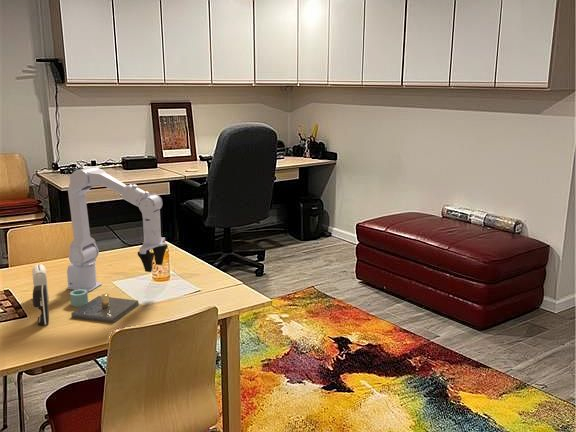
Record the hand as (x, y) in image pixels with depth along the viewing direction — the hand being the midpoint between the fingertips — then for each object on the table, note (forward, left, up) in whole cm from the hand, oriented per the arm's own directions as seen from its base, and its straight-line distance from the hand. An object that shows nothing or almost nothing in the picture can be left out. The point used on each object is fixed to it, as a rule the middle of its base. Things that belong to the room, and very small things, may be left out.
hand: (153, 268), depth 189 cm
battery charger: (-23, -30, -10) cm, 39 cm away
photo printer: (-35, -15, -10) cm, 39 cm away
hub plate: (-9, -17, -10) cm, 21 cm away
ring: (-21, -14, -10) cm, 27 cm away
